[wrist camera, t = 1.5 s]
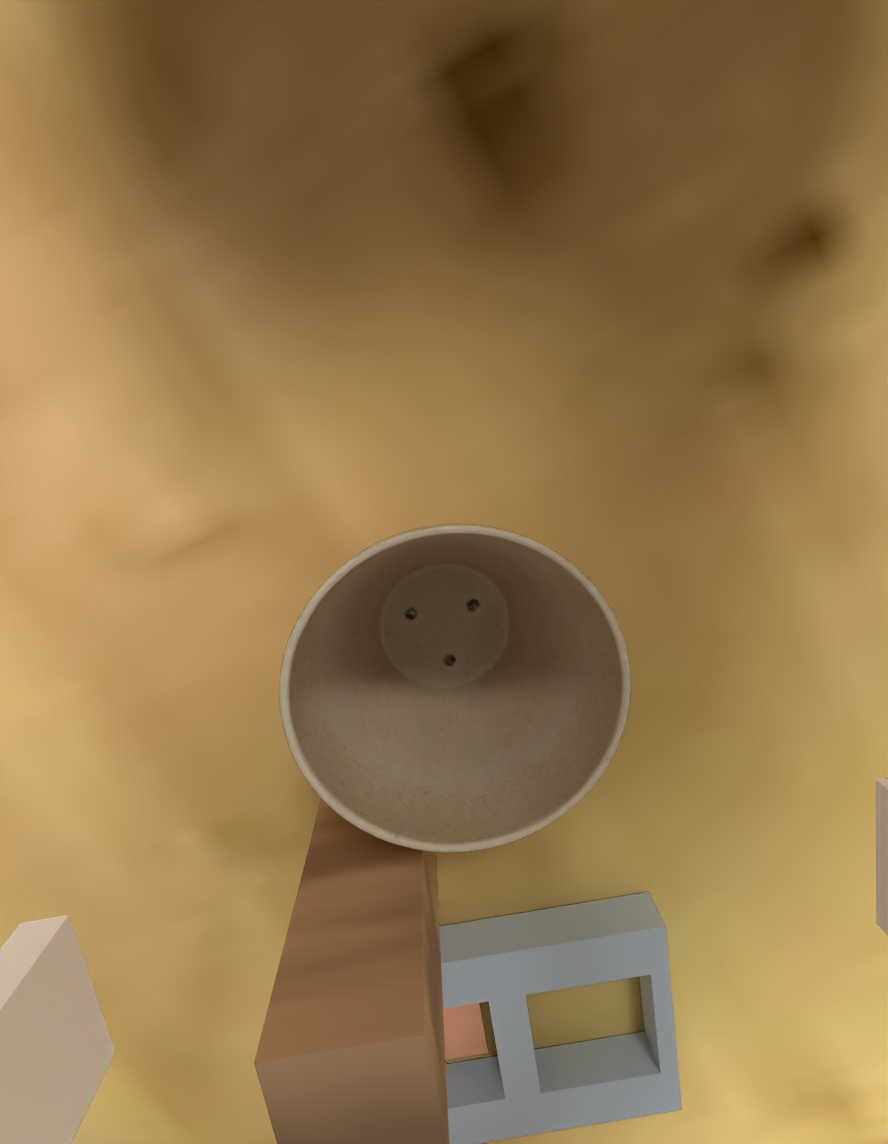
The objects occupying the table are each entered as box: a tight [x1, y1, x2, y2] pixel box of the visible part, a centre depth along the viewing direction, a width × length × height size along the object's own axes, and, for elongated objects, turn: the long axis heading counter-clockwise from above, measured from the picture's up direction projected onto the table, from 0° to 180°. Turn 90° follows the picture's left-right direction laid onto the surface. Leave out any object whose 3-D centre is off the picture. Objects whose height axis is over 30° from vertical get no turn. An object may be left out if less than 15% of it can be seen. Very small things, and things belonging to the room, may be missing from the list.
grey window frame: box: [439, 892, 682, 1144], centre depth 28 cm, size 10×14×2 cm
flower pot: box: [279, 524, 631, 853], centre depth 21 cm, size 10×10×7 cm
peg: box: [254, 799, 449, 1144], centre depth 21 cm, size 4×4×12 cm
